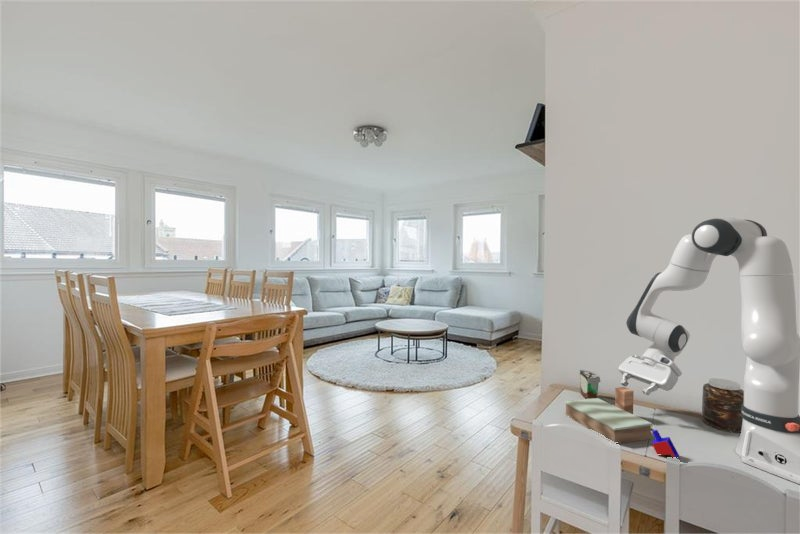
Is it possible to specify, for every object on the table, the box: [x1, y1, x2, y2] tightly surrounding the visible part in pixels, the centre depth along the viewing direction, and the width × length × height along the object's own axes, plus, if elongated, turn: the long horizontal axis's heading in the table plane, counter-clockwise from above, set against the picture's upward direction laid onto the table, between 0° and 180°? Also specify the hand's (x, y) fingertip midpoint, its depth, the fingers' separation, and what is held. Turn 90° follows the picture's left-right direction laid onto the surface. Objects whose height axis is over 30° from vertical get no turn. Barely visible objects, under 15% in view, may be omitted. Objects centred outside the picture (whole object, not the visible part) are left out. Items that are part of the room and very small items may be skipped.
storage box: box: [564, 397, 653, 444], centre depth 127 cm, size 23×15×5 cm, turn 14°
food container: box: [579, 369, 601, 399], centre depth 152 cm, size 12×6×10 cm, turn 168°
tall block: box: [614, 386, 634, 415], centre depth 135 cm, size 4×4×10 cm
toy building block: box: [651, 429, 680, 458], centre depth 108 cm, size 4×4×8 cm
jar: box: [701, 377, 744, 434], centre depth 128 cm, size 12×12×15 cm
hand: (633, 389), depth 136 cm, fingers open, 8 cm apart
